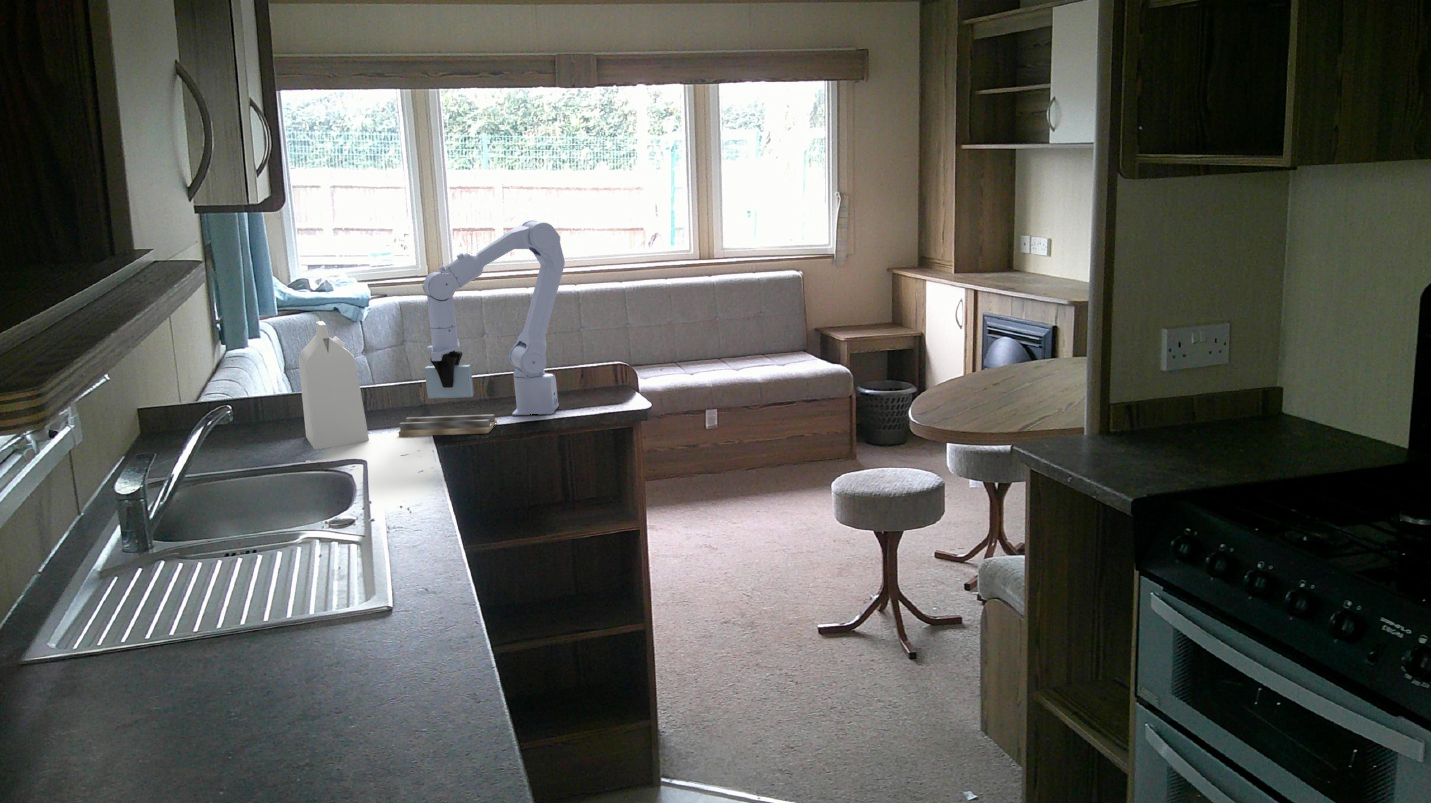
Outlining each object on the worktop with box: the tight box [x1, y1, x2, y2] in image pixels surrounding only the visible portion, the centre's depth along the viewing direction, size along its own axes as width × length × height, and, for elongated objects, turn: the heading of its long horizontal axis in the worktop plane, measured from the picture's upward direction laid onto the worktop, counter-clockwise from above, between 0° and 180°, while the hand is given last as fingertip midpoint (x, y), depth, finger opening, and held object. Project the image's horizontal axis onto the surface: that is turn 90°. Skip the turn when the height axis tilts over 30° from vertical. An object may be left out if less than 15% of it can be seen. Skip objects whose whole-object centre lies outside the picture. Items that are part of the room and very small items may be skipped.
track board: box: [397, 414, 498, 437], centre depth 255 cm, size 20×8×2 cm, turn 86°
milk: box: [298, 320, 370, 450], centre depth 250 cm, size 12×12×26 cm
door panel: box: [424, 364, 475, 399], centre depth 257 cm, size 10×2×7 cm, turn 85°
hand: (449, 385), depth 257 cm, fingers closed on door panel, 2 cm apart
